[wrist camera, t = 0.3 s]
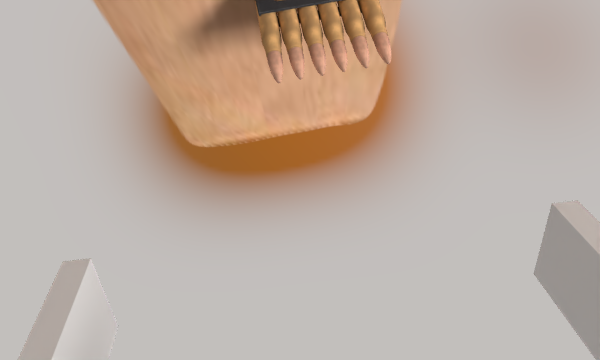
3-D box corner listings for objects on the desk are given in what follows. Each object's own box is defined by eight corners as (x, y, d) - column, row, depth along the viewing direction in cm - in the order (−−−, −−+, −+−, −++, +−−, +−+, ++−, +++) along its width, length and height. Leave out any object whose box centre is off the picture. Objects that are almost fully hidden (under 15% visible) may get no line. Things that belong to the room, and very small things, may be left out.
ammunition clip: (252, -9, 45) (268, 92, 39) (249, -27, 43) (265, 77, 38) (366, -29, 45) (399, 69, 39) (367, -47, 43) (402, 53, 38)
